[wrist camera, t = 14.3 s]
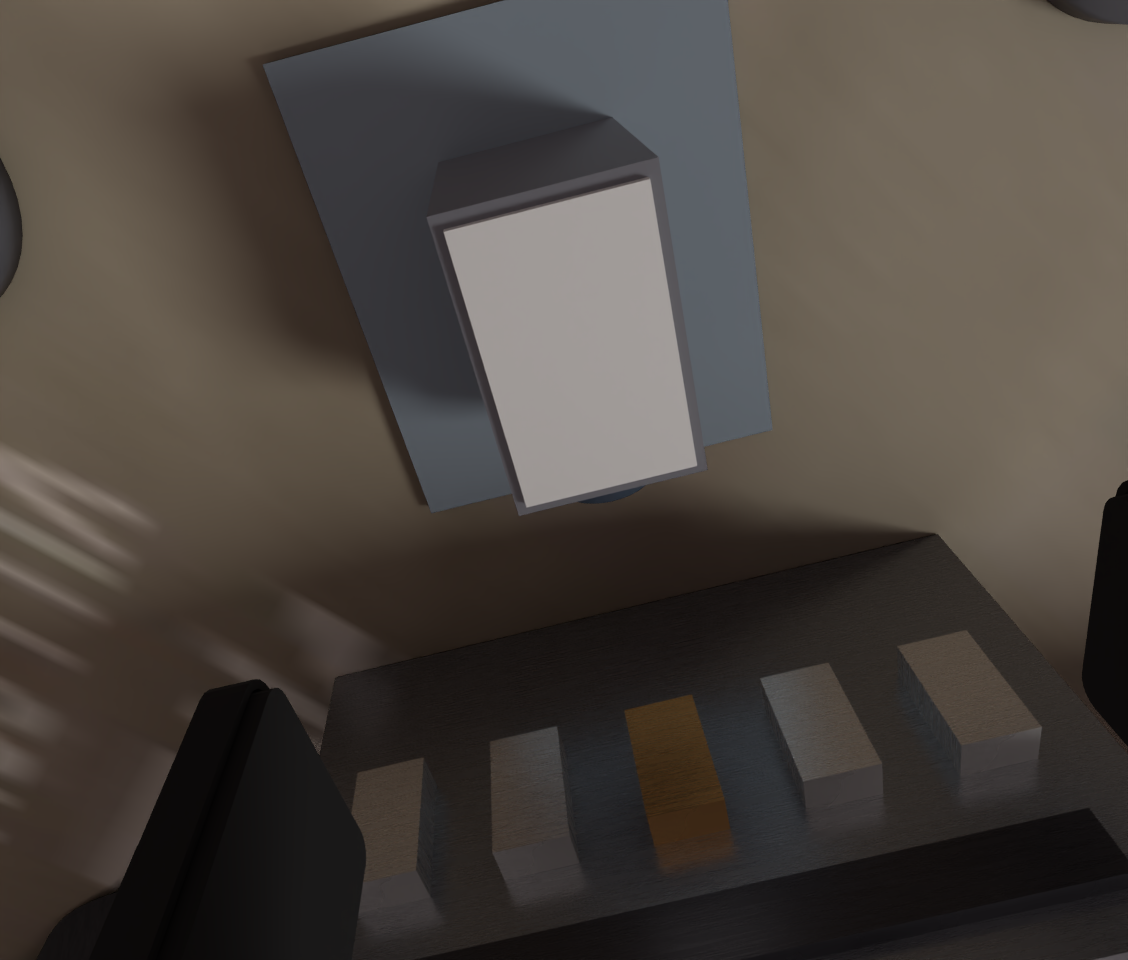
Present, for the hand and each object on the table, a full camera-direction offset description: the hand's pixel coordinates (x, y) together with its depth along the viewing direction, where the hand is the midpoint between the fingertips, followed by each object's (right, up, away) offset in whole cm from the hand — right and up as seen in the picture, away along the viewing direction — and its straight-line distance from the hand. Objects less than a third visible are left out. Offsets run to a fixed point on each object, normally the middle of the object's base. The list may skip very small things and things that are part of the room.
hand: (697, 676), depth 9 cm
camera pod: (-2, +8, +13) cm, 15 cm away
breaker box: (+1, -4, +21) cm, 21 cm away
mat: (-2, +8, +13) cm, 16 cm away
